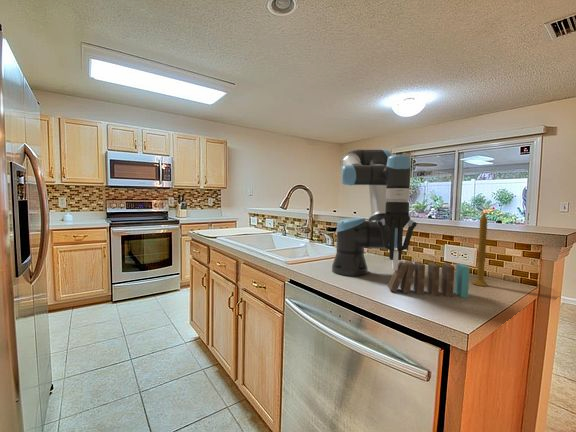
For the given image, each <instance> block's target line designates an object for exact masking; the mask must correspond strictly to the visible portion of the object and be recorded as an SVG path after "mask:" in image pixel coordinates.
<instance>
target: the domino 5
mask: <svg viewBox="0 0 576 432" xmlns="http://www.w3.org/2000/svg"><path fill="white" fill-rule="evenodd" d="M454 279H455V266H453V265H452V264H450V263H449V262H442V263H441V281H440V292H441V293H442V294H443V295H444V296H446V297H454V286H455V282H454V281H455V280H454Z"/></svg>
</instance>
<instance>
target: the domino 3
mask: <svg viewBox="0 0 576 432" xmlns="http://www.w3.org/2000/svg"><path fill="white" fill-rule="evenodd" d="M413 264H414V265H415V268H414V273H413V286H412V287H413V291H414V292H415V293H416V295H422V296H423V295H424V294H425V275H426V264H424V263H423V262H421V261H414V263H413Z"/></svg>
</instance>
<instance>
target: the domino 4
mask: <svg viewBox="0 0 576 432" xmlns="http://www.w3.org/2000/svg"><path fill="white" fill-rule="evenodd" d="M440 268H441V267H440V265H439V264H438V263H435V262H434V261H433V262H431V261H428V262H427V280H426V281H427V282H426V283H427V284H426V291H427V292H428V293H429V294H430V295H431V296H435V297H436V296H439V290H440V289H439V287H440V285H439V284H440Z"/></svg>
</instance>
